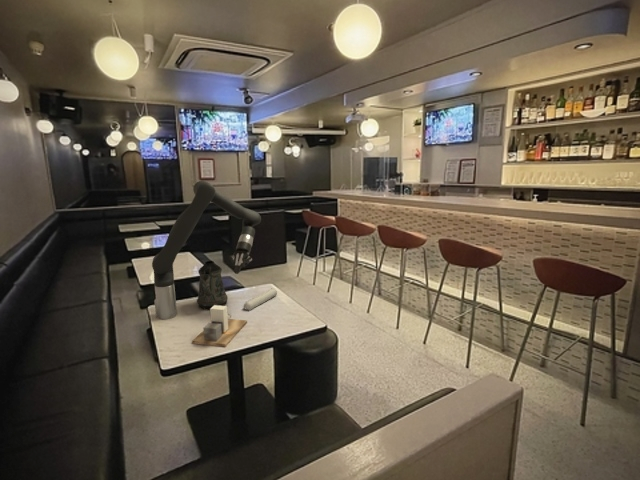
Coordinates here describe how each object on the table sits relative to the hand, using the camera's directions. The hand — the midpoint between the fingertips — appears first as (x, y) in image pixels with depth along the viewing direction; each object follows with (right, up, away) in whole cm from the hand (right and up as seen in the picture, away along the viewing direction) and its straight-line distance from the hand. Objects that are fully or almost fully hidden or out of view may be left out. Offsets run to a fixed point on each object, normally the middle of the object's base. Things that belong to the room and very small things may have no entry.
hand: (236, 273), depth 181 cm
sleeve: (-4, -25, -15) cm, 30 cm away
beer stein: (-17, -20, +18) cm, 32 cm away
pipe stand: (-4, -27, -14) cm, 30 cm away
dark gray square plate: (-4, -26, -18) cm, 31 cm away
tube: (+9, -19, +22) cm, 30 cm away
